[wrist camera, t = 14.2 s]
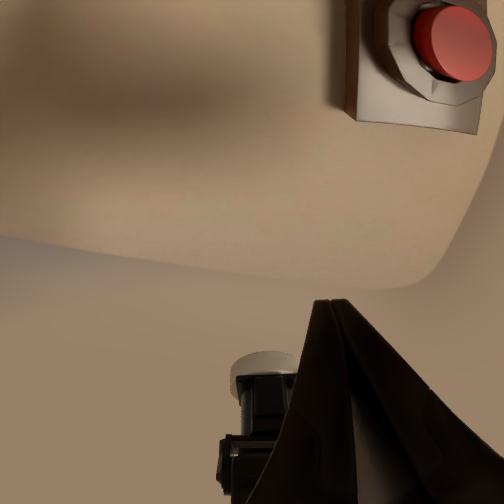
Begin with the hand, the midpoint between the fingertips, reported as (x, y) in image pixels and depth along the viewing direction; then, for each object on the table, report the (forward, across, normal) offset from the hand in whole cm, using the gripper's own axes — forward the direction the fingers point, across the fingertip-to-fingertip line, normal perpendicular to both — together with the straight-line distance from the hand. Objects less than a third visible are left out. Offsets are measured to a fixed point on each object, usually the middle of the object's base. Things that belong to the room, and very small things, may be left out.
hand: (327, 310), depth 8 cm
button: (+8, -7, -8) cm, 14 cm away
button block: (+12, -7, -8) cm, 16 cm away
